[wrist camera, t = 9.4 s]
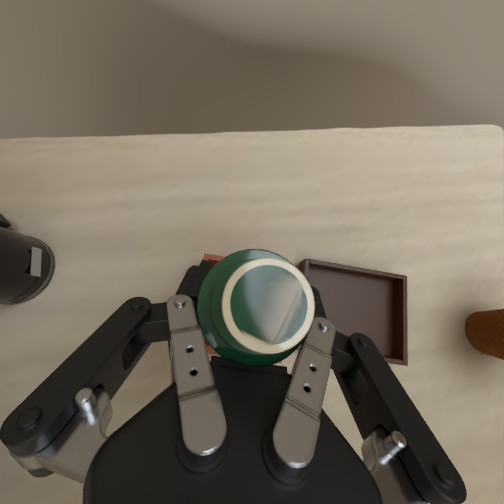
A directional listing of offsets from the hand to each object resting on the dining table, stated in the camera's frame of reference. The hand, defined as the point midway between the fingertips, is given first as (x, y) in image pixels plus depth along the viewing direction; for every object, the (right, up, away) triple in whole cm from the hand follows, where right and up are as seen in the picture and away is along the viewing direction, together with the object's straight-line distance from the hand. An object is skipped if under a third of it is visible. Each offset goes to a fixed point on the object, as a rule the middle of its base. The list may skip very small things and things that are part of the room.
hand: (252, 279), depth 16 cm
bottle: (-1, -4, +8) cm, 8 cm away
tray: (+14, -7, +19) cm, 25 cm away
